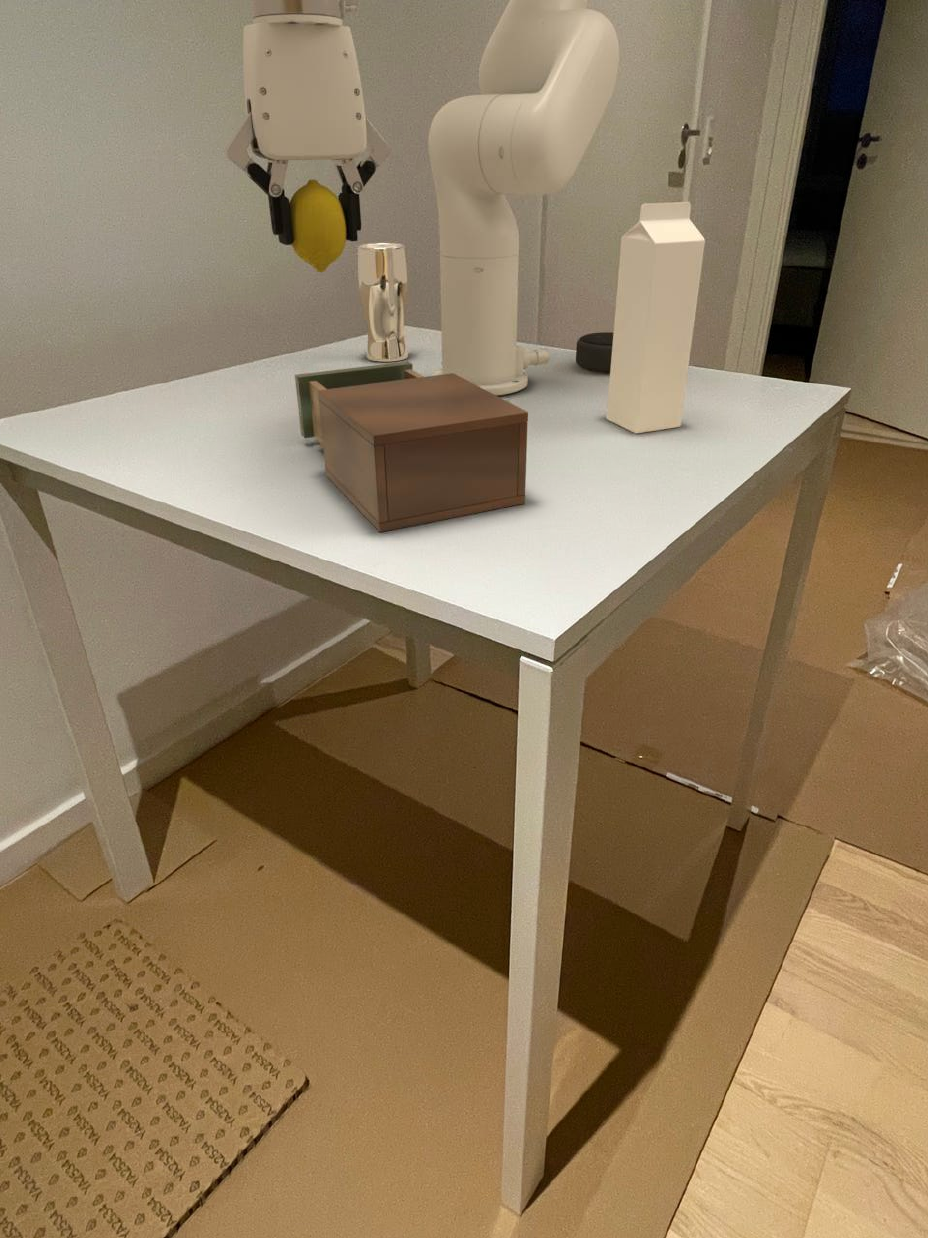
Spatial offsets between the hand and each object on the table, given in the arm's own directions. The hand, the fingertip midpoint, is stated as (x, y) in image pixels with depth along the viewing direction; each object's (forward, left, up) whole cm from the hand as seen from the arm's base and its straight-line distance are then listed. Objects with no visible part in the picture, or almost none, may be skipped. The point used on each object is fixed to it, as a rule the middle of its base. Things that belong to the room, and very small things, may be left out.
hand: (318, 239), depth 78 cm
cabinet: (-2, +18, -19) cm, 27 cm away
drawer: (-2, +4, -19) cm, 19 cm away
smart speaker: (-43, -12, -19) cm, 49 cm away
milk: (-32, +11, -19) cm, 39 cm away
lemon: (0, 0, -3) cm, 3 cm away
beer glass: (-18, -32, -19) cm, 42 cm away
